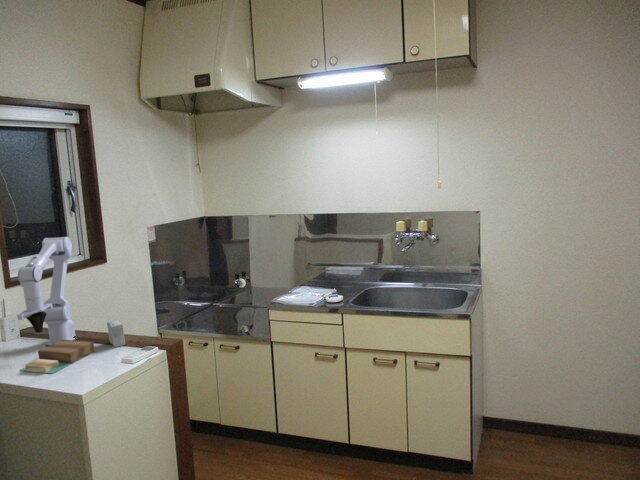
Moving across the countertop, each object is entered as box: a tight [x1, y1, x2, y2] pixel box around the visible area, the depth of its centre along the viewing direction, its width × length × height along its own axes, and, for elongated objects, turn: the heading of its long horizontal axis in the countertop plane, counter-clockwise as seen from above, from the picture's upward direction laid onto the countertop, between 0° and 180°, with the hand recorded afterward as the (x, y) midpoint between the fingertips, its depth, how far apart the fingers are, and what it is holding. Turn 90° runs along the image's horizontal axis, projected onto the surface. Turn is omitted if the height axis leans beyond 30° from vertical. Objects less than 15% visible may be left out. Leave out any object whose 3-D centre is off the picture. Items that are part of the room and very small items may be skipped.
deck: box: [37, 339, 95, 365], centre depth 200 cm, size 12×15×4 cm
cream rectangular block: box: [24, 358, 59, 374], centre depth 189 cm, size 6×9×2 cm, turn 72°
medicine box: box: [106, 319, 126, 348], centre depth 210 cm, size 8×4×9 cm, turn 34°
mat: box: [19, 362, 72, 375], centre depth 191 cm, size 9×15×1 cm, turn 72°
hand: (38, 332), depth 200 cm, fingers closed
